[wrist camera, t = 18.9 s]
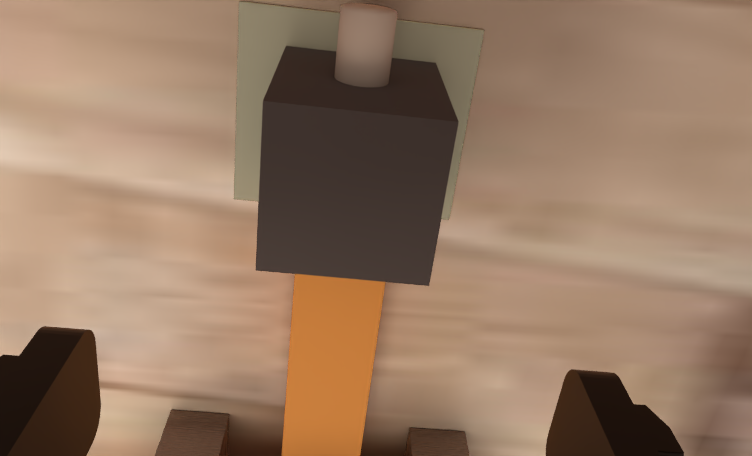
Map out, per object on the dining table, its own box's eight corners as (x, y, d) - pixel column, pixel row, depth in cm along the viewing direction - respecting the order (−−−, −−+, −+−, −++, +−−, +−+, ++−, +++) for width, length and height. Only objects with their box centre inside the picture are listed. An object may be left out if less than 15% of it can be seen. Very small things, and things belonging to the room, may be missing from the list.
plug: (361, 528, 33) (362, 653, 28) (259, 522, 33) (239, 647, 28) (445, 1, 22) (472, 43, 17) (289, -18, 22) (266, 19, 16)
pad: (448, 218, 26) (449, 220, 26) (234, 197, 25) (233, 199, 25) (483, 29, 23) (484, 30, 22) (239, 0, 22) (239, 1, 22)
